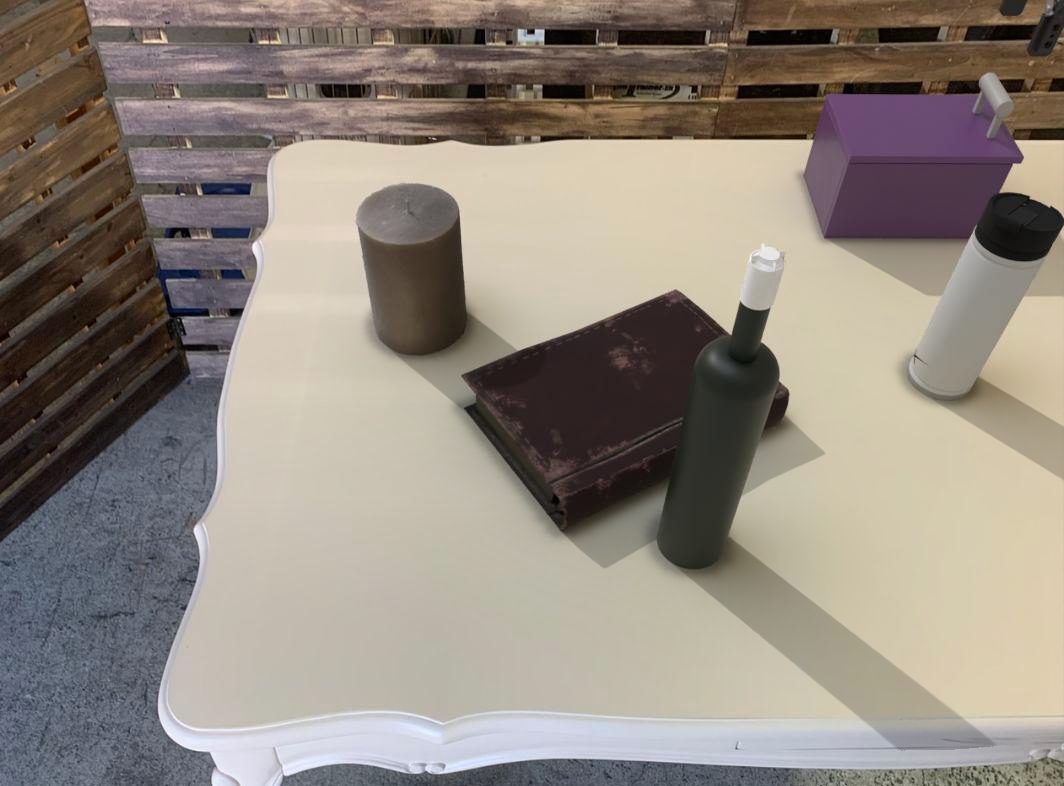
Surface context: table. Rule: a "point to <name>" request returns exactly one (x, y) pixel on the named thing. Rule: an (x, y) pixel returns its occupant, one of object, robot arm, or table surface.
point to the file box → (895, 193)
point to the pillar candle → (413, 267)
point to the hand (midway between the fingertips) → (1022, 34)
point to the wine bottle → (722, 424)
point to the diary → (598, 405)
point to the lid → (926, 127)
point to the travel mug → (983, 293)
